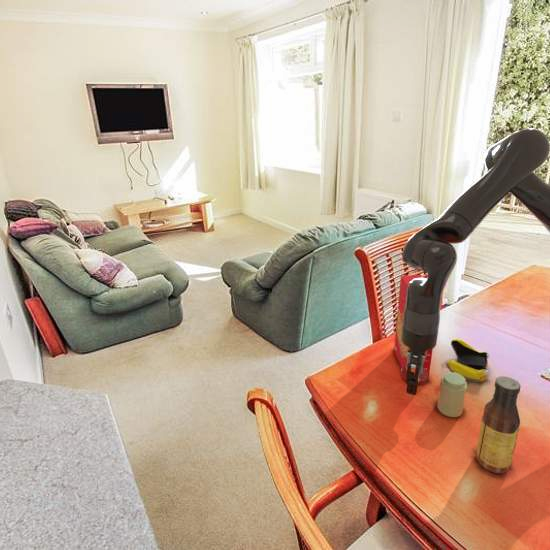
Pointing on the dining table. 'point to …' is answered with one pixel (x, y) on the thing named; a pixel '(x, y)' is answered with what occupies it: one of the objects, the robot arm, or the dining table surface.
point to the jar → (452, 394)
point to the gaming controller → (468, 361)
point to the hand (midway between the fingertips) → (413, 384)
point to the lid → (422, 377)
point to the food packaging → (399, 346)
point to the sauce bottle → (499, 427)
